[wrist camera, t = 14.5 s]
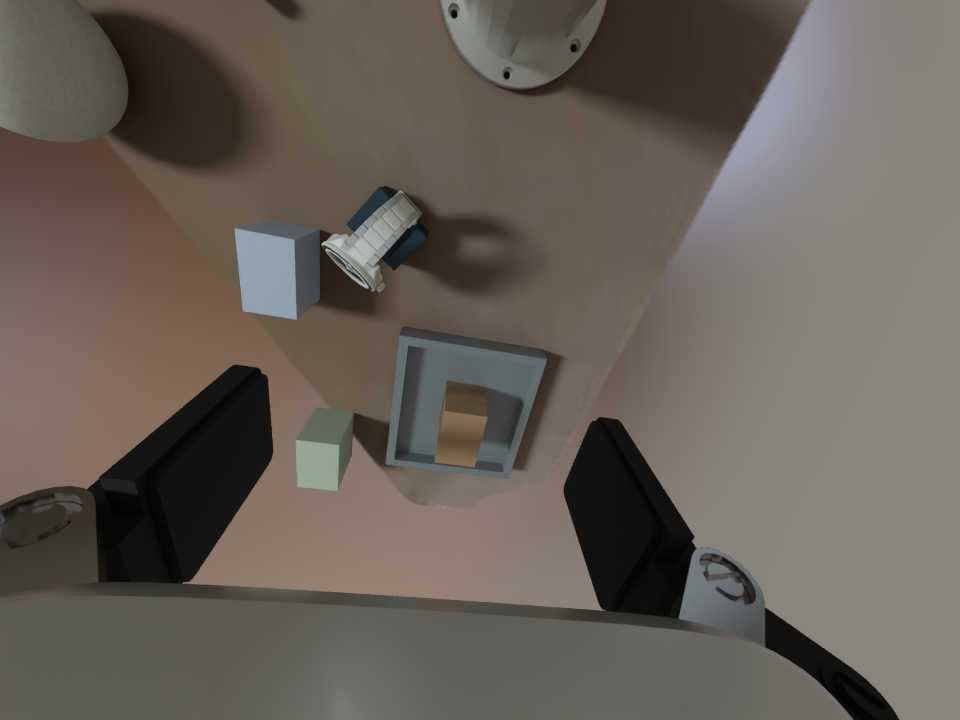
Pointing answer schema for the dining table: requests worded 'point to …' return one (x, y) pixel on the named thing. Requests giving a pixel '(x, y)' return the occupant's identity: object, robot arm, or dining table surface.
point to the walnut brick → (461, 424)
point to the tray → (468, 361)
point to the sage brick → (324, 449)
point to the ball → (58, 72)
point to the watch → (377, 237)
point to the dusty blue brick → (278, 268)
